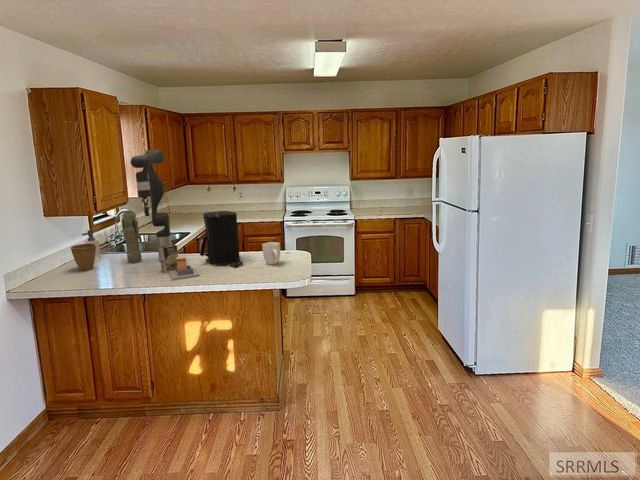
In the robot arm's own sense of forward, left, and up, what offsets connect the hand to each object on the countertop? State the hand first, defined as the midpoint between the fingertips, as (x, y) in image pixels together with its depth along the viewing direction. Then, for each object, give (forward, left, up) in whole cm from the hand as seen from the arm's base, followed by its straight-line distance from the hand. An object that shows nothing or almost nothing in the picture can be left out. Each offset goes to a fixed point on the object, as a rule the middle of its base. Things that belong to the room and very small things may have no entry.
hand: (147, 215), depth 290 cm
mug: (+25, +71, -36) cm, 84 cm away
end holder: (+18, +16, -36) cm, 43 cm away
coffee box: (+4, +10, -36) cm, 38 cm away
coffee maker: (+4, +42, -36) cm, 56 cm away
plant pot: (-30, -40, -36) cm, 62 cm away
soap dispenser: (-52, -37, -36) cm, 73 cm away
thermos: (-33, -10, -36) cm, 50 cm away
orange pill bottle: (+18, +15, -35) cm, 42 cm away
